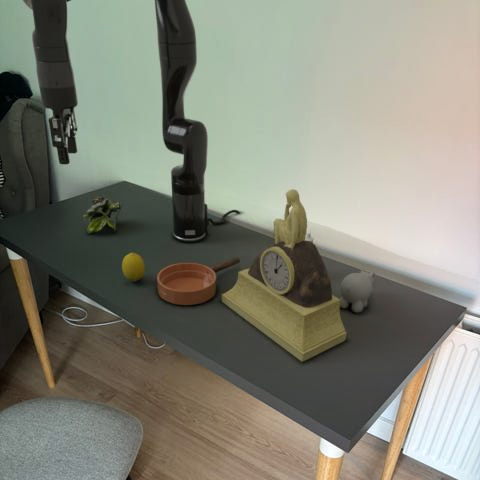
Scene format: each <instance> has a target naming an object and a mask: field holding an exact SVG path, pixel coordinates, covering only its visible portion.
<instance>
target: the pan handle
mask: <svg viewBox="0 0 480 480" xmlns="http://www.w3.org/2000/svg"><path fill="white" fill-rule="evenodd" d="M240 262H241V258H240V257H238V256H234V257H232V258H230V259H227V260H224V261H222V262H220V263H217V264H215V265H212V266H210V267H209V268H211V269H212V270H213V271H214V272H215V273H219V272H221V271H224V270H225V269H228V268H230V267H233V266H236V265H237V264H239V263H240ZM206 272H207V274H208V273H209V272H208V271H206Z"/></svg>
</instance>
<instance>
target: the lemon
mask: <svg viewBox="0 0 480 480" xmlns="http://www.w3.org/2000/svg"><path fill="white" fill-rule="evenodd" d="M121 270H122V274H123V275H124V277H125V278H126V279H127V280H129V281H132V282H134V283H135V282H137V281H139V280H141V279H142V278H143V277H144V275H145V272H146V265H145V261H144V258H142V256H141V255H140V254H138V253H135V252H129V253H128V254H127V255H125V256H124V258H123V260H122V263H121Z"/></svg>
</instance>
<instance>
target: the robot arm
mask: <svg viewBox="0 0 480 480" xmlns="http://www.w3.org/2000/svg"><path fill="white" fill-rule="evenodd" d="M22 1H23V3H24V4H25V5H26V6H27V8H29V9H30V10H32V17H33V25H34V28H33V31H32V33H31V39H32V47H33V52H34V58H35V66H36V67H35V68H36V75H37V76H36V77H37V83H38V87H39V93H40V99H41V104H42V106H43V108H45V109H50V111H51V112H52V116H51V117H48V120H47V121H48V125H49V132H50V138H51V145H52V147H53V148H55V149H56V151H57V152H56V153H57V158H58V164H60V165H69V164H70V163H71V161H70V155H69V154H77V153H78V145H77V138H76V136H77V132H78V125H77V119H76V113H75V108H76V107H77V106H78V95H77V88H76V81H75V74H74V73H75V72H74V69H73V65H72V61H71V54H70V47H69V41H68V2H71V1H72V0H22ZM154 9H155V11H154V12H155V20H156V30H157V32H156V33H157V47H158V58H159V66H160V67H159V68H160V81H161V100H162V105H161V106H162V111H161V112H162V114H161V115H162V117H161V131H162V141H163V144H164V146H165V148H166V149H167V150H168V151H170V152H172V153H175V154H177V155H178V154H179V155H183V160H182V161H183V162H182V164H178V165H175V166H174V167H172V168H171V170H170V181H171V183H170V184H171V200H172V201H171V202H172V224H173V226H172V228H173V232H172V235H173V238H174V239H175V240H176V241H178V242H183V243H197V242H200V241H203V240H204V239H205V238H206V236H208V234H209V233H208V232H209V231H208V230H209V229H208V227H209V226H210V223H211V224H212V225H222V224H224V223H226V222H227V218H226V217H227V216H229V215H231V214H234V213H236V214H237V215H238V214H241V212H240V210H237V209H232V210H229V211H227V212H226V213H223V215H222V216H221V218H222V220H219V221H214V220H213V219H212V218H210V217H208V204H207V203H206V200H205V199H206V198H205V196H206V195H205V191H206V190H205V176H206V175H205V174H206V171H207V167H208V148H209V135H208V131H207V127H206V125H205V123H203V122H201V121H200V120H197V119H191V118H186V116H185V96H186V91H187V89H188V86H189V85H190V82H191V81H192V78H193V76H194V74H195V71H196V69H197V63H198V51H197V50H198V47H197V34H196V29H195V25H194V22H193V18H192V15H191V12H190V10H189V7H188V4H187V1H186V0H154Z"/></svg>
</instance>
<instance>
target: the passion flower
mask: <svg viewBox="0 0 480 480" xmlns="http://www.w3.org/2000/svg"><path fill="white" fill-rule="evenodd" d="M91 202H92V204H93V205H91V206H89V207H88V208H89V209H87V211H86V214H84V215H83V218H84V222H85V223H86V222H87V221H89V223H88V227H87V228H86V232H87V233H88V235H90V234H91V233H93V232H95V233H98V232H100V231H101V230H102V229H103V228H104V227H105V226H106V225H108V226H109V227H110V228H112V229H113V233H116V230H117V226H116V224H117V221H118V217H119V215H120V212H121V210H122V208H123V203H122V202H119V201H118V202H117V203H115V201H114V200H113V199H109V198H106V199H105V196H101V197H100V196H97V197H96V198H92V199H91ZM112 213H116V215H115V218H114V219H112V218H111V216H112Z"/></svg>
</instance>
